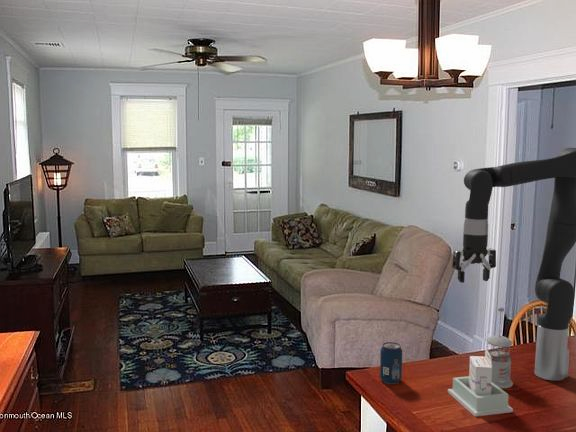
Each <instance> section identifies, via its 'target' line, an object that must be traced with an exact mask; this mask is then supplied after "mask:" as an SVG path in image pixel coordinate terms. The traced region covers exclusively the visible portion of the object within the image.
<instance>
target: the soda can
mask: <svg viewBox="0 0 576 432" xmlns="http://www.w3.org/2000/svg"><path fill="white" fill-rule="evenodd" d="M379 360H380V362H379V363H380V365H379V377H380V379H381V381H382V382H383V383H384V384H388V385H396V384H399V382H401V380H402V378H403V377H402V375H403V370H402V369H403V350H402V345H401V344H400V343H398V342H392V341H387V342H384V343H382V346H381V348H380V359H379Z"/></svg>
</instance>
